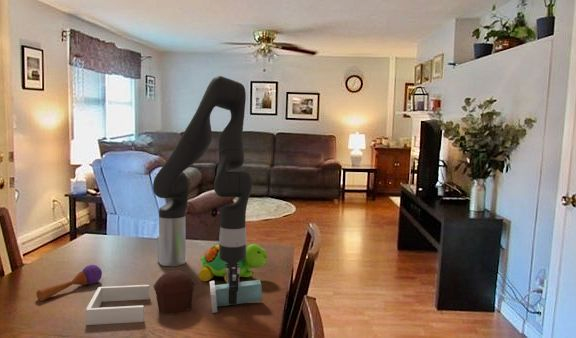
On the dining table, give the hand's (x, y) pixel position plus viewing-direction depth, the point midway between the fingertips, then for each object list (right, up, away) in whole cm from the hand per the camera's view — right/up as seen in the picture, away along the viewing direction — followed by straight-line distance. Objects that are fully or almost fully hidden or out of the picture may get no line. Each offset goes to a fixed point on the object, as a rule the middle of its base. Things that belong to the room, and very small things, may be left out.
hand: (232, 300), depth 134 cm
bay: (-30, -1, -6) cm, 31 cm away
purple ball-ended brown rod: (-50, +1, +8) cm, 50 cm away
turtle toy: (-2, +1, +23) cm, 24 cm away
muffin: (-16, -1, -3) cm, 16 cm away
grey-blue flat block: (0, 0, 0) cm, 1 cm away
